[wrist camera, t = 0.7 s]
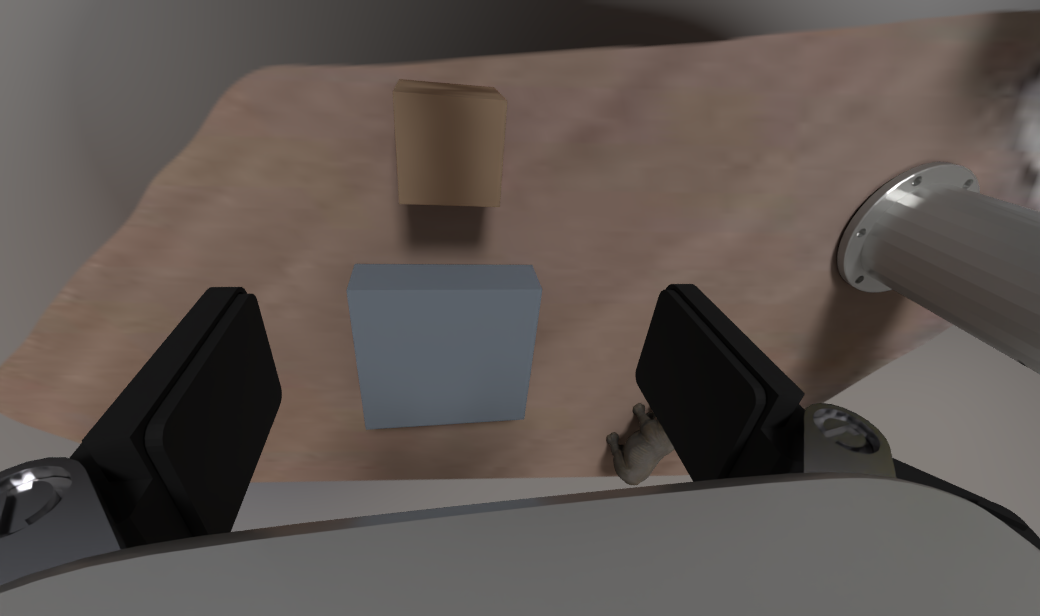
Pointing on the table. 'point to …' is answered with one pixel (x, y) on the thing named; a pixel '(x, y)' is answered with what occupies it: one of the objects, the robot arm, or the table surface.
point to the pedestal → (443, 341)
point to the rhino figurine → (640, 448)
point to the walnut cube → (449, 143)
